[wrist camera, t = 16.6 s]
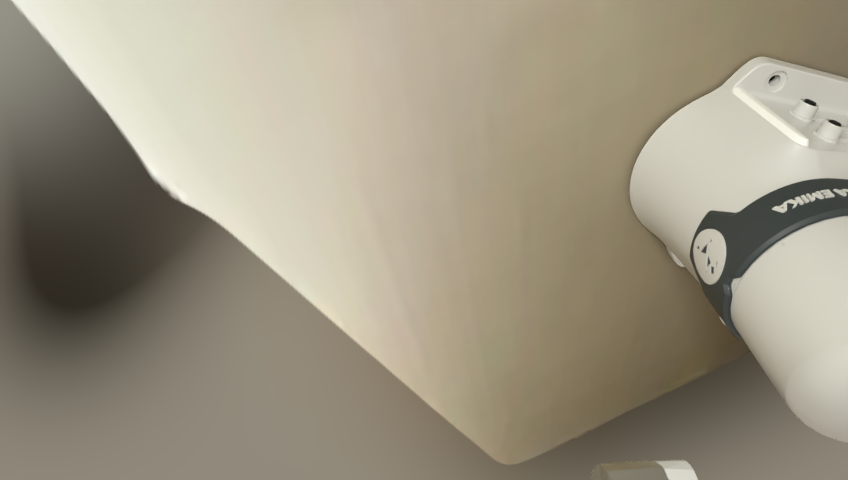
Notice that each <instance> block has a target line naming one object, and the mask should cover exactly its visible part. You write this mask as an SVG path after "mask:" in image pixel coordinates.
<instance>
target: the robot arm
mask: <svg viewBox="0 0 848 480" xmlns="http://www.w3.org/2000/svg"><path fill="white" fill-rule="evenodd" d="M774 75H775V77H774V79H773V80H772V81H770V82H769V80H770V78H771V77H772V76H774ZM630 199H631V204H632V207H633V210H634V212H635V214H636V216H637V218H638V219H639V221H640V222H641V223H642V224H643V225H644V226H645V227H646V228H647V229H648V230H649V231H651V232H652V233H653V234H654V235H655V236H657V237H658V238H659V239H660V240H661V241H662V242H663V243H664V244H665V246H666V248H667V251H668V253H669V255H670V256H671V258H672V259H673V260H674V261H675V262H676V264H678V265H679V266H681V267H686V269H687V270H688V271H689V272H690V273H691V274H692V276H693V277H694V278H695V279H696V280H697V281H698V282H699V284H700V285H701V286H702V288H703V291H704V293H705V295H706V297H707V298H708V300H709V301H710V303H711V304H712V306H713V307H714V309H715V310H716V312H717V313H718V315H719V316H720V317H719V318H720V319H721V321H722V322H723V324H724V325H726V326H727V327H728V329H729V330H730V331H731V332H732V333H733V334H734V335H735V336H736V337H737V338H738V339H740V340H741V341H743V342H745V343H746V344H747V346H748V347H749V349H750V350H751V352H752V353H753V355H754V356H755V358H756V359H757V361H758V362H759V364H760V365H761V367H762V368H763V370H764V371H765V373H766V374H767V376H768V377H769V379H770V380H771V382H772V383H773V385H774V386H775V388H776V389H777V391H778V392H779V394H780V395H781V397H782V398H783V400H784V401H785V403H786V404H787V406H788V407H789V409H790V411H791V412H792V413H793V414H794V415H795V416H796V417H797V418H798V419H799V420H801V421H802V422H803V423H804V424H806V425H807V426H808V427H810V428H811V429H813V430H815V431H817V432H818V433H820V434H822V435H824V436H827V437H829V438H831V439H835V440H838V441H841V442H845V443H848V78H845V77H841V76H837V75H833V74H829V73H826V72H822V71H818V70H814V69H810V68H807V67H803V66H799V65H795V64H791V63H788V62H784V61H780V60H776V59H772V58H768V57H757V58H754V59H752V60H750V61H749V62H747V63H746V64H745V65H743V66H742V67H741V68H740V69H739V70H738V71H736V72H735V73H734V74H733V75H732V76H731V77H730V78H729V79H728V80H727V81H726V82H725V83H724V84H723V85H722V86H721V87H719V88H718V89H716V90H714V91H713V92H711V93H709V94H707V95H705V96H703V97H701V98H699V99H697V100H695V101H693V102H692V103H690V104H688V105H687V106H685V107H683V108H682V109H681V110H679V111H678V112H676V113H675V114H674V115H673V116H671V117H670V118H669V119H668V120H667V121H665V122H664V123H663V124H662V125H661V126H660V127H659V128H658V129H657V130H656V132H655V133H654V134H653V135H652V136H651V138H650V139H649V140H648V142H647V143H646V145H645V146H644V148H643V149H642V151H641V153H640V155H639V157H638V158H637V161H636V163H635V166H634V169H633V172H632V176H631V181H630ZM591 478H592V480H698V478H697V476H696V474H695V472H694V470H693V468H692V466H691V465H690V464H689V463H688V462H687V461H685V460H681V459H676V460H661V461H654V460H648V461H633V462H619V463H604V464H598V465H597V466H595V467H594V469H593V471H592V474H591Z"/></svg>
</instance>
